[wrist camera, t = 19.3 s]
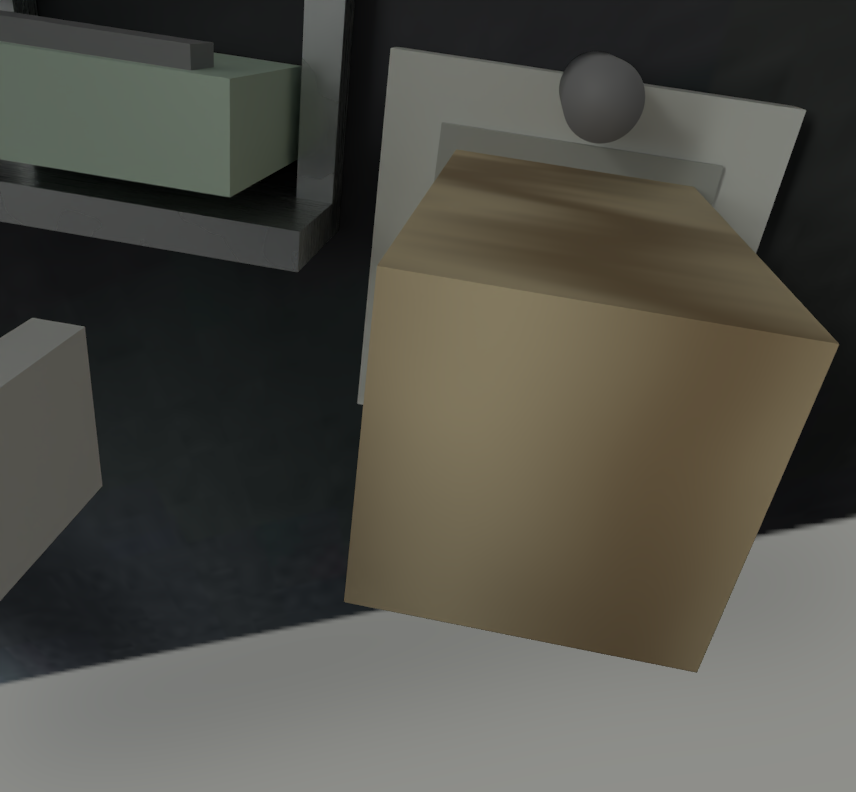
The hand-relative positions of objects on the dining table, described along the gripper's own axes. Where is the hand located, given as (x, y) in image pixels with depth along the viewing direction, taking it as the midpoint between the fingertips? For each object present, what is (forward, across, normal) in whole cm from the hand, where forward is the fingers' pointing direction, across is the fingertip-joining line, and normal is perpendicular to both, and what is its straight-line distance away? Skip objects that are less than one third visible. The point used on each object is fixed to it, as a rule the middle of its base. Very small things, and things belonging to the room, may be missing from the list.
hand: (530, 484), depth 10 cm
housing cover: (+12, -10, +3) cm, 16 cm away
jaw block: (+10, +1, 0) cm, 10 cm away
